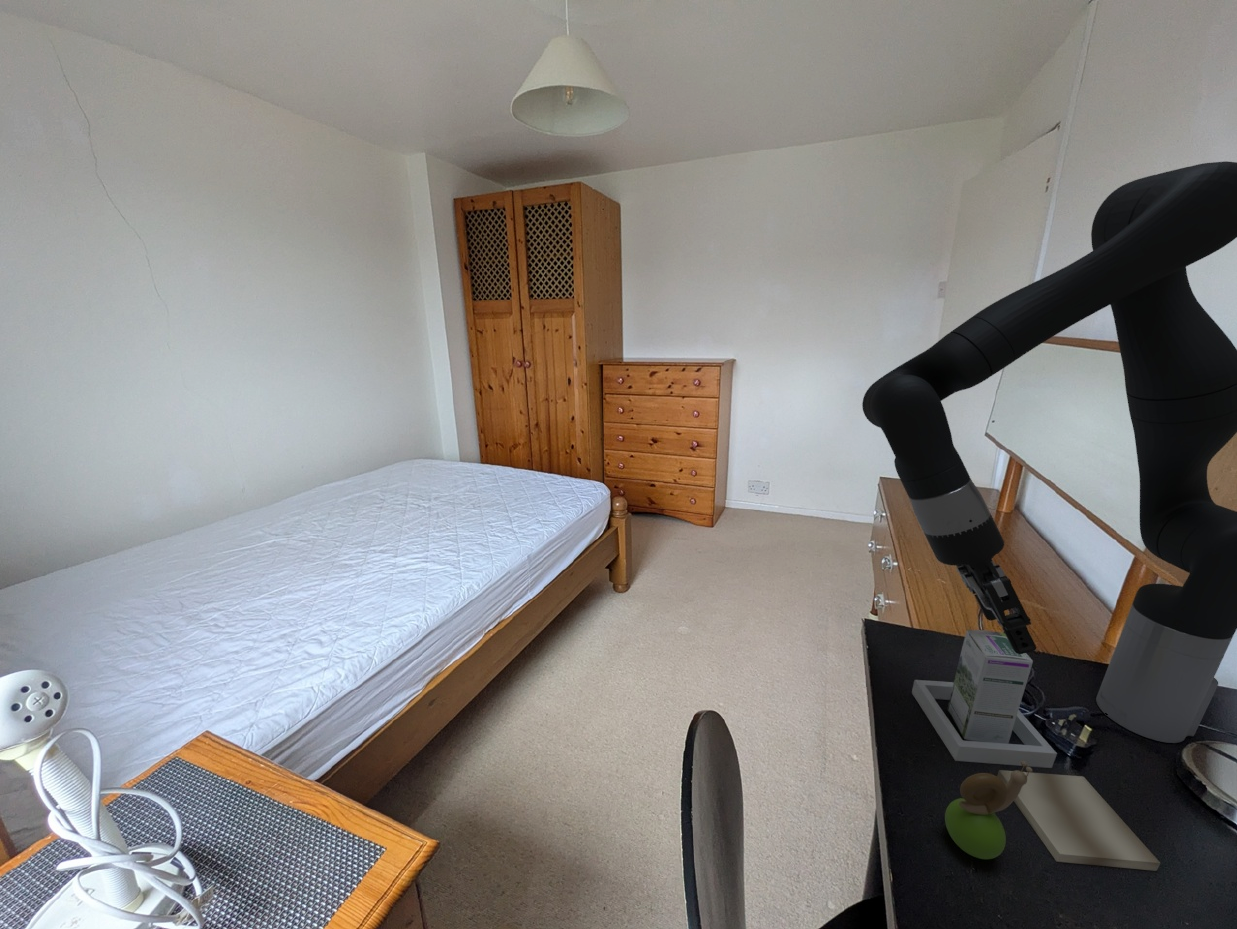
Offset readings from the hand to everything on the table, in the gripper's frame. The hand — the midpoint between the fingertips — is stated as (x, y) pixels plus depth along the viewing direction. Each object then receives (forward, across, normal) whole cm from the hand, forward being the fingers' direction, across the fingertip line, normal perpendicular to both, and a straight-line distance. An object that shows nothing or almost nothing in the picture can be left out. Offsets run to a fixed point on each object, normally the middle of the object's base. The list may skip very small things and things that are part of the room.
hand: (1009, 633), depth 61 cm
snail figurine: (+15, -13, +15) cm, 25 cm away
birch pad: (+20, -6, +4) cm, 21 cm away
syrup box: (+16, +6, +8) cm, 19 cm away
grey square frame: (+16, +6, +8) cm, 19 cm away
